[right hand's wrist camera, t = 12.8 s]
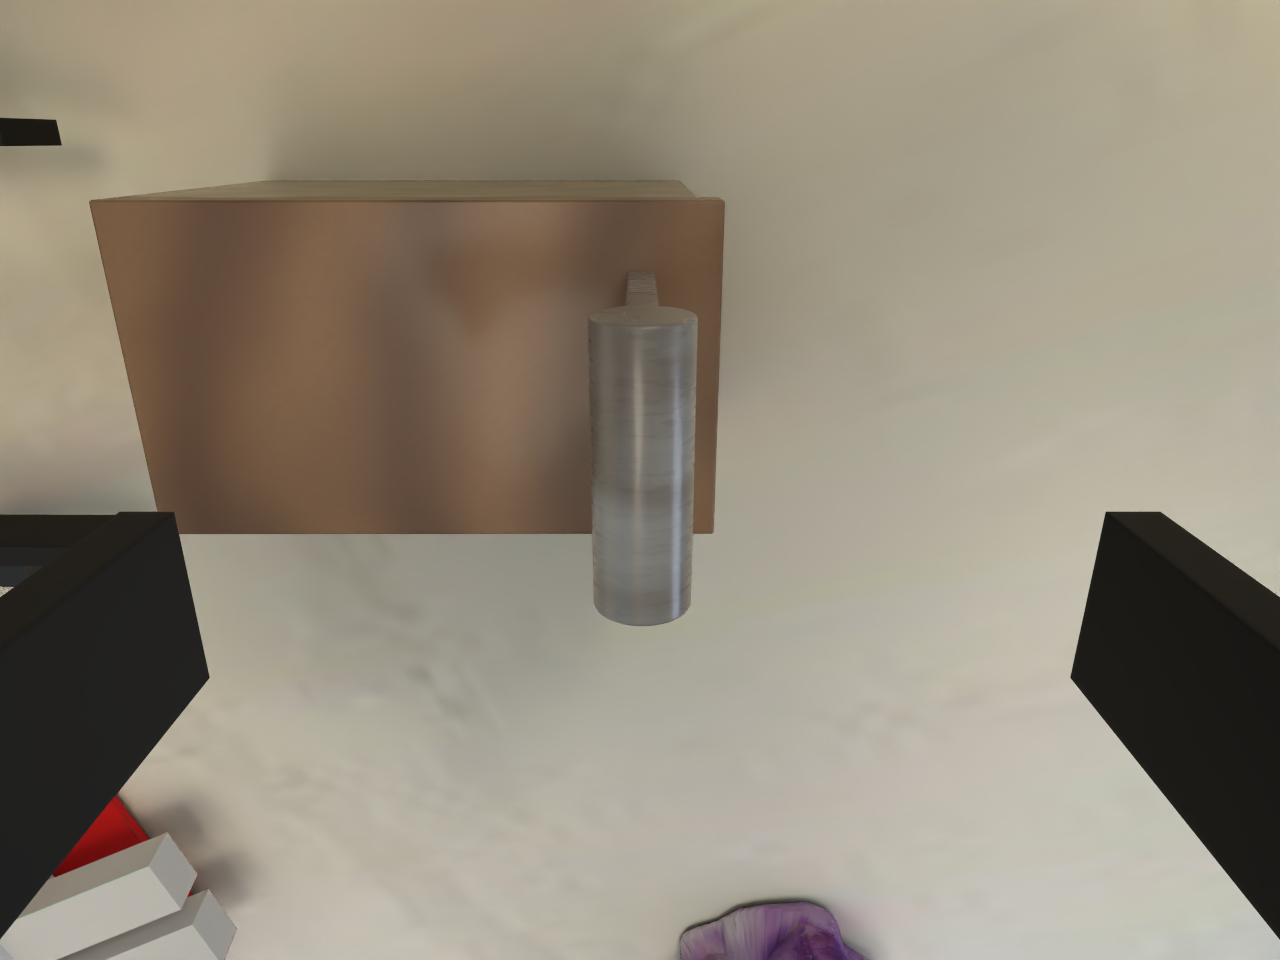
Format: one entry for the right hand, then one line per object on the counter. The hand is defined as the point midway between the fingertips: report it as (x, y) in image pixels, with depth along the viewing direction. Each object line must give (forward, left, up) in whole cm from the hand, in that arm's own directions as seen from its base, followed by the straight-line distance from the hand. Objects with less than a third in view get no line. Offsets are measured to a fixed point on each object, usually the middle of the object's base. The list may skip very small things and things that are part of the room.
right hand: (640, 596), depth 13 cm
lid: (+3, -5, -13) cm, 14 cm away
